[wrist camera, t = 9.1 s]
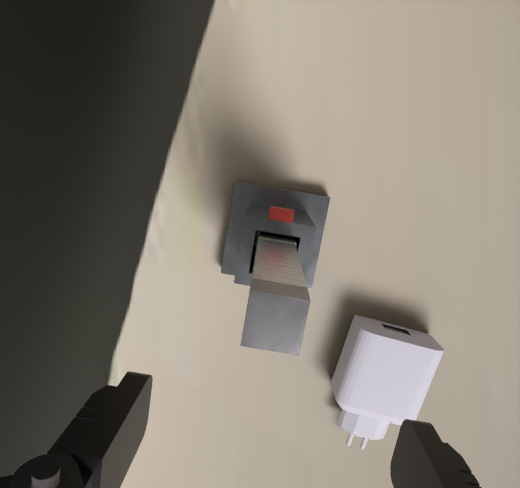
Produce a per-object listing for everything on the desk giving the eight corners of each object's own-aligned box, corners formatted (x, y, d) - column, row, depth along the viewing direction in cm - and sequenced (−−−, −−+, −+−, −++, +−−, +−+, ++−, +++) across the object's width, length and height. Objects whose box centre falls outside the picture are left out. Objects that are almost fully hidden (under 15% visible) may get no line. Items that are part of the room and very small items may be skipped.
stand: (235, 180, 42) (224, 186, 32) (328, 195, 42) (344, 207, 32) (222, 269, 44) (208, 300, 34) (310, 283, 44) (320, 319, 34)
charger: (314, 423, 48) (352, 312, 45) (386, 441, 48) (429, 332, 45) (319, 451, 43) (361, 330, 40) (398, 471, 44) (447, 352, 40)
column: (260, 228, 36) (248, 288, 19) (293, 233, 36) (311, 299, 19) (254, 260, 36) (239, 346, 20) (287, 266, 36) (300, 356, 20)
